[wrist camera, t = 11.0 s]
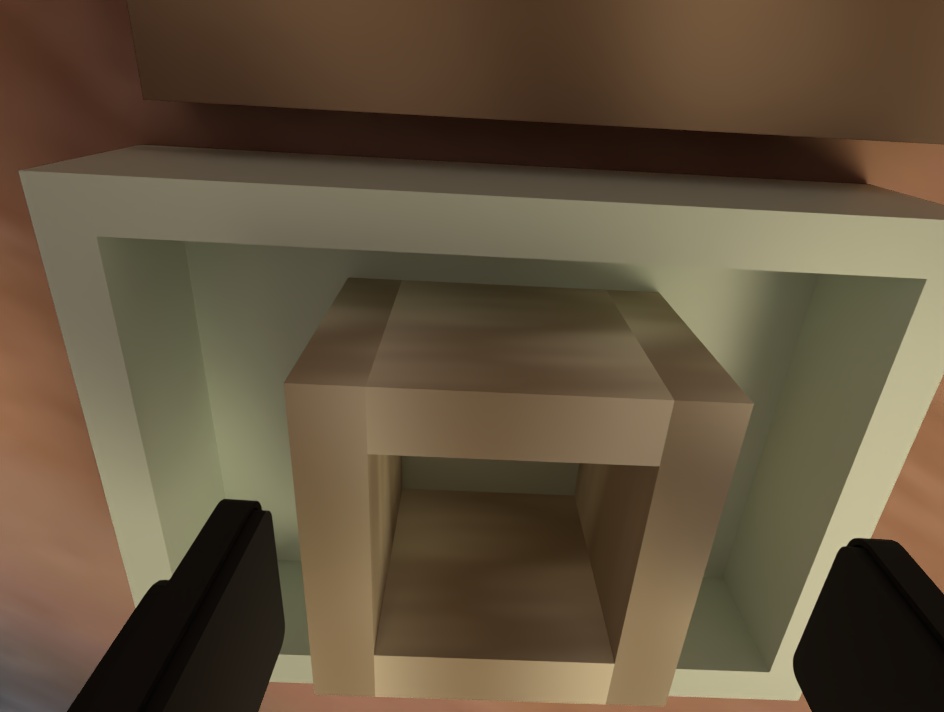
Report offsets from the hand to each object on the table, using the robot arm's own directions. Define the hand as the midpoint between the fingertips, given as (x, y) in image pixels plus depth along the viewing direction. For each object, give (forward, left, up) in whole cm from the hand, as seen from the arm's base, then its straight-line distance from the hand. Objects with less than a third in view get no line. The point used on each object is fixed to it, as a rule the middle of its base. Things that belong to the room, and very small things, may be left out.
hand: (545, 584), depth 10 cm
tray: (+1, 0, -6) cm, 6 cm away
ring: (+1, 0, -5) cm, 5 cm away
